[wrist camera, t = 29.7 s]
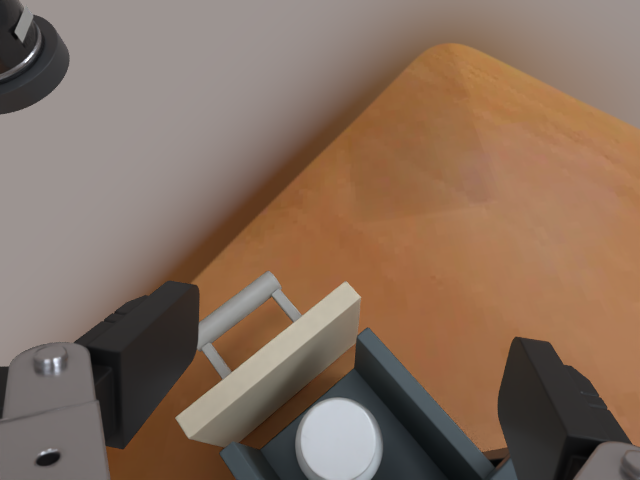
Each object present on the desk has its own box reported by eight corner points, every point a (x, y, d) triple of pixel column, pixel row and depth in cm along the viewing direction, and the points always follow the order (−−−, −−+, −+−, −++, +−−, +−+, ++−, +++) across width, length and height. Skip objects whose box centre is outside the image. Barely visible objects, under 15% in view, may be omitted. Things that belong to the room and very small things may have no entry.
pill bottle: (297, 485, 27) (281, 487, 20) (308, 405, 29) (296, 382, 22) (374, 496, 27) (384, 502, 20) (380, 414, 29) (390, 394, 22)
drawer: (180, 374, 31) (125, 340, 24) (302, 279, 34) (289, 220, 26) (364, 648, 25) (373, 728, 17) (499, 503, 27) (562, 514, 19)
